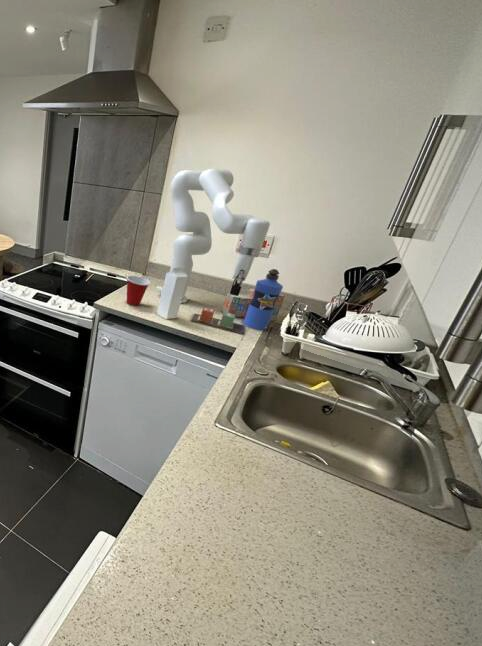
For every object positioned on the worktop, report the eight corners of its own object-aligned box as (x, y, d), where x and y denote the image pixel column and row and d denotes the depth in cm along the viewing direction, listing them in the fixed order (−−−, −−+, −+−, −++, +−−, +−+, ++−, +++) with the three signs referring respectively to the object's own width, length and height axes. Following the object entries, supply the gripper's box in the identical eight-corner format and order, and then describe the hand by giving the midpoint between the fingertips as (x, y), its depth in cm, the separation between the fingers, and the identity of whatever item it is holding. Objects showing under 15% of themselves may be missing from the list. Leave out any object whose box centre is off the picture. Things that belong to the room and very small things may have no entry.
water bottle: (269, 331, 163) (291, 274, 153) (245, 327, 165) (265, 270, 155) (263, 323, 172) (284, 268, 162) (240, 319, 174) (259, 265, 164)
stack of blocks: (226, 316, 176) (235, 290, 172) (221, 310, 182) (229, 285, 177) (275, 321, 175) (285, 295, 170) (268, 316, 181) (278, 291, 176)
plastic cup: (139, 309, 175) (145, 284, 170) (117, 302, 181) (122, 278, 176) (149, 304, 183) (154, 280, 178) (128, 297, 189) (132, 274, 184)
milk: (176, 318, 170) (190, 269, 161) (166, 319, 167) (179, 269, 158) (166, 312, 175) (179, 264, 166) (156, 313, 172) (168, 265, 163)
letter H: (199, 319, 168) (202, 309, 166) (200, 316, 171) (203, 307, 169) (210, 322, 166) (213, 312, 164) (211, 319, 169) (214, 309, 167)
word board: (190, 321, 167) (191, 319, 167) (194, 314, 175) (194, 313, 175) (243, 334, 158) (243, 333, 158) (244, 326, 166) (244, 325, 166)
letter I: (219, 324, 164) (222, 314, 162) (220, 321, 168) (223, 311, 166) (231, 327, 162) (234, 317, 160) (232, 324, 166) (235, 314, 164)
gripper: (239, 245, 162) (226, 284, 169) (237, 253, 148) (222, 295, 156) (260, 249, 159) (245, 288, 166) (259, 257, 145) (243, 300, 152)
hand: (234, 291), depth 161 cm, fingers open, 9 cm apart
